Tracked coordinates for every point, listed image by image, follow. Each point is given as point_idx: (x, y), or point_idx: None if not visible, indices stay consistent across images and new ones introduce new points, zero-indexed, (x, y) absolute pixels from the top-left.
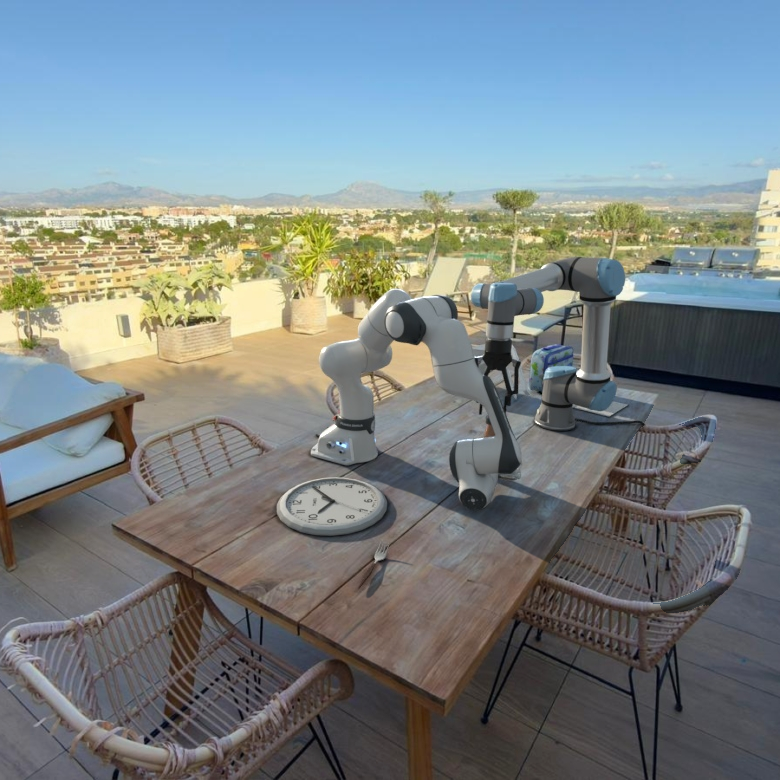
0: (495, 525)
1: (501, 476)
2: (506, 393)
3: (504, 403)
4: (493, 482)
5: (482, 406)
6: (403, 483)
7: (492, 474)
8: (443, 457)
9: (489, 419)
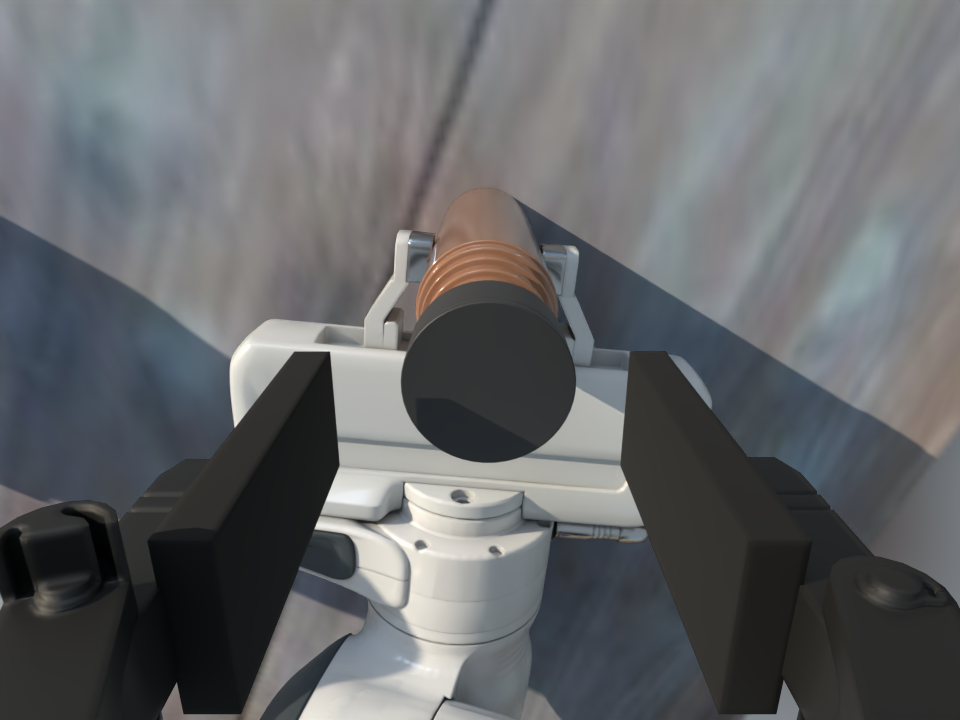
0: (537, 670)
1: (568, 537)
2: (782, 544)
3: (676, 592)
4: (525, 687)
5: (310, 381)
6: (58, 448)
7: (517, 645)
8: (149, 24)
9: (452, 448)
